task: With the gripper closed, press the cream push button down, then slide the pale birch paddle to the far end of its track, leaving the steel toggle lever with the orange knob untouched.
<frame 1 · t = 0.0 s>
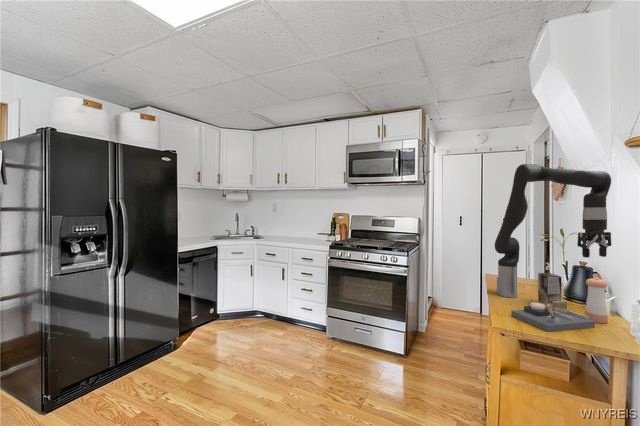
hand: (594, 256, 123), 29 cm above the table, tool pointing down, fingers open, 8 cm apart
pepper shaker: (596, 320, 130), on the table
toggle lever: (549, 309, 122), point 8 cm above the table, hinge at 25.0°
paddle: (559, 307, 132), point 5 cm above the table, slide at 0.0 cm
push button: (537, 306, 132), point 5 cm above the table, slide at 0.0 cm
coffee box: (549, 306, 149), on the table
control panel: (550, 321, 129), on the table
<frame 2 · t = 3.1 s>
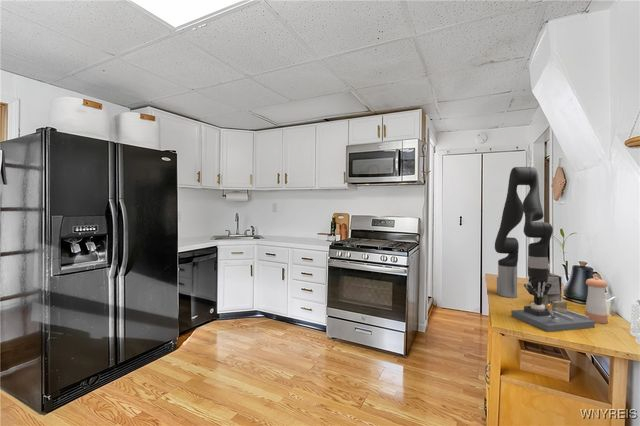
hand: (537, 304, 132), 6 cm above the table, tool pointing down, fingers closed
push button: (537, 307, 132), point 5 cm above the table, slide at 0.2 cm, touching gripper
everything else where it was.
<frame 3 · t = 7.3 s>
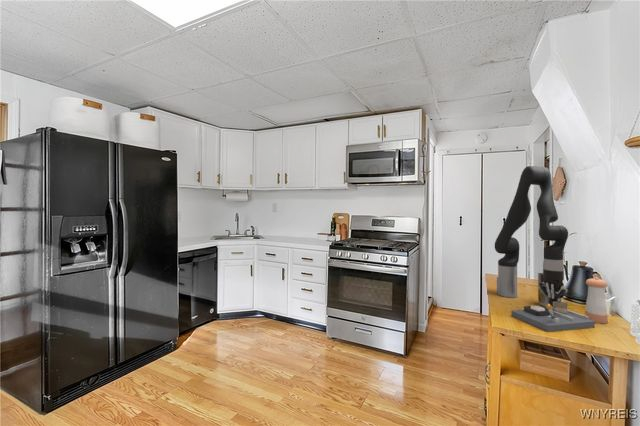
hand: (553, 306, 135), 5 cm above the table, tool pointing down, fingers closed
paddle: (560, 307, 132), point 5 cm above the table, slide at 0.2 cm, touching gripper
push button: (537, 310, 132), point 4 cm above the table, slide at 1.5 cm, touching control panel
everything else where it was.
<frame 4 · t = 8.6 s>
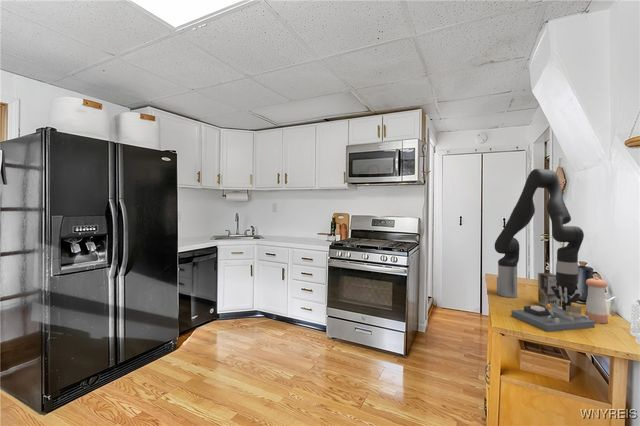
hand: (566, 310, 129), 5 cm above the table, tool pointing down, fingers closed
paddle: (573, 311, 126), point 5 cm above the table, slide at 6.1 cm, touching gripper
everything else where it was.
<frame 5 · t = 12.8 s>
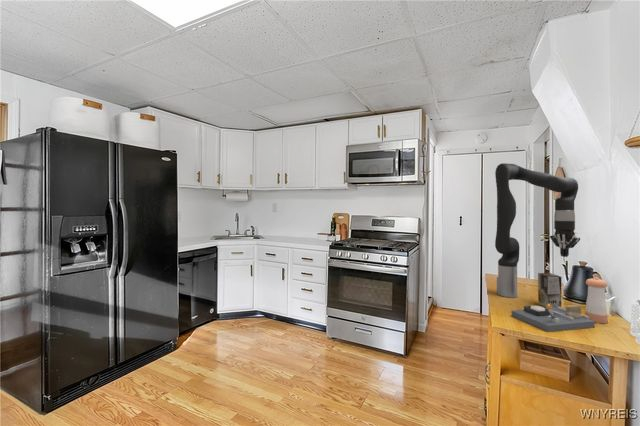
hand: (564, 256, 138), 27 cm above the table, tool pointing down, fingers closed
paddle: (573, 311, 126), point 5 cm above the table, slide at 6.1 cm
everything else where it was.
at the end: push button slide at 1.5 cm; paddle slide at 6.1 cm; toggle lever at +25° (first picture: +25°) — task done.
